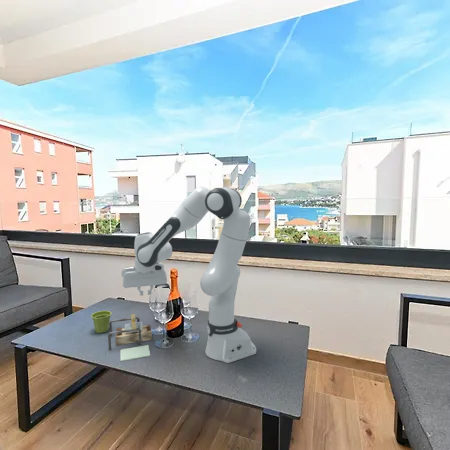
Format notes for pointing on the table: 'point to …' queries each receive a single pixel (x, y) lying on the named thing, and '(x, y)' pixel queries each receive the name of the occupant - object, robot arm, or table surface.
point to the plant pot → (101, 321)
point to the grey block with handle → (128, 326)
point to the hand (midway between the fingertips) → (145, 294)
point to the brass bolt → (133, 321)
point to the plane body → (129, 338)
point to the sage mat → (134, 353)
